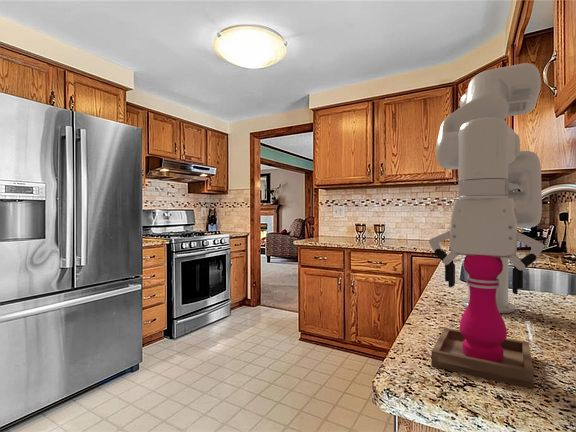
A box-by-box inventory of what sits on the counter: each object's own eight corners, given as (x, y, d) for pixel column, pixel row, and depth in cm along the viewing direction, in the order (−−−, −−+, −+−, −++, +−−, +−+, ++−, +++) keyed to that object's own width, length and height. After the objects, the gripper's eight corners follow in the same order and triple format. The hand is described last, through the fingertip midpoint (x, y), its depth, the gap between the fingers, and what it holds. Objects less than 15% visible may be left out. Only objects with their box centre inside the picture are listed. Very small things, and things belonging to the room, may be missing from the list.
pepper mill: (507, 352, 61) (507, 240, 60) (506, 367, 55) (506, 243, 54) (462, 343, 65) (462, 238, 64) (456, 357, 59) (457, 241, 58)
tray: (444, 340, 69) (444, 327, 69) (528, 355, 61) (528, 342, 61) (431, 365, 57) (431, 351, 57) (533, 389, 50) (533, 372, 50)
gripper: (542, 190, 58) (541, 291, 58) (433, 194, 67) (433, 280, 67) (546, 188, 51) (545, 300, 51) (425, 191, 61) (425, 287, 61)
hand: (482, 289), depth 59 cm, fingers open, 9 cm apart
